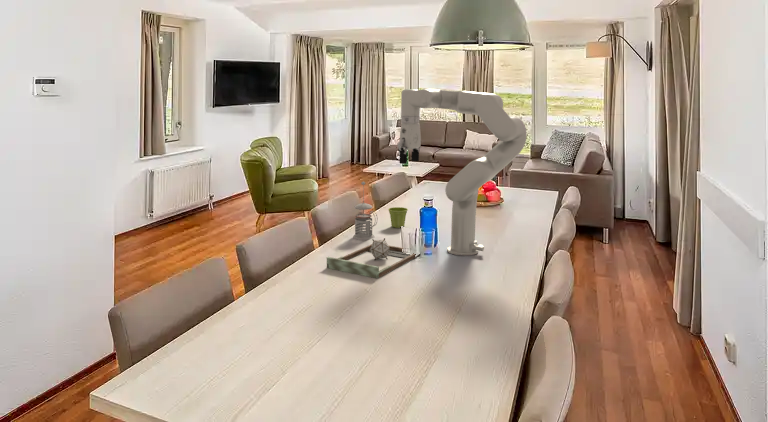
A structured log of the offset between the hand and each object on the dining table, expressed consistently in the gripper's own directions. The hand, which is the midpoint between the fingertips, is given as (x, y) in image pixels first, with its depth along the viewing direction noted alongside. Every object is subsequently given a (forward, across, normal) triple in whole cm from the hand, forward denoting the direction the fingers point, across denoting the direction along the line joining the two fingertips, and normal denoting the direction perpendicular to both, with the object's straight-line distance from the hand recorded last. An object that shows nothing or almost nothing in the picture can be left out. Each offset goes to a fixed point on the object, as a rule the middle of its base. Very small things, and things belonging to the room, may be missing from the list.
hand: (409, 162), depth 220 cm
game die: (+35, -24, -2) cm, 43 cm away
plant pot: (+36, +23, +19) cm, 47 cm away
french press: (+36, -1, +21) cm, 41 cm away
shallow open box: (+35, -27, -2) cm, 44 cm away
